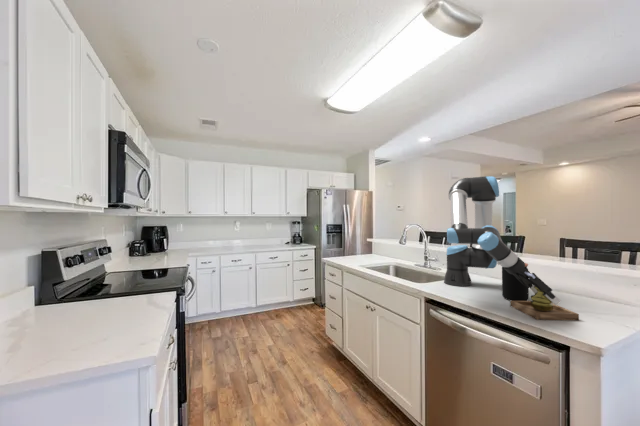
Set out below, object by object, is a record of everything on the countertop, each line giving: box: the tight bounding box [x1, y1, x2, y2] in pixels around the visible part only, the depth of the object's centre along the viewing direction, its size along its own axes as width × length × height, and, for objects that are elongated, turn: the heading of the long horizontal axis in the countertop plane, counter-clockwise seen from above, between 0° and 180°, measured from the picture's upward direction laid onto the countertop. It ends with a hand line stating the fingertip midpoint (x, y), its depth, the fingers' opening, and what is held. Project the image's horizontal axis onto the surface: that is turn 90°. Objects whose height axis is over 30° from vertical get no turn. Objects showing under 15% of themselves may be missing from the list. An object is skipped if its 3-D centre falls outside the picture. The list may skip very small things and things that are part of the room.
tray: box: [510, 300, 580, 321], centre depth 114 cm, size 16×16×2 cm
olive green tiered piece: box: [530, 286, 553, 311], centre depth 114 cm, size 7×7×10 cm
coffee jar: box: [501, 262, 530, 302], centre depth 133 cm, size 11×11×18 cm
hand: (550, 299), depth 114 cm, fingers closed on olive green tiered piece, 7 cm apart
